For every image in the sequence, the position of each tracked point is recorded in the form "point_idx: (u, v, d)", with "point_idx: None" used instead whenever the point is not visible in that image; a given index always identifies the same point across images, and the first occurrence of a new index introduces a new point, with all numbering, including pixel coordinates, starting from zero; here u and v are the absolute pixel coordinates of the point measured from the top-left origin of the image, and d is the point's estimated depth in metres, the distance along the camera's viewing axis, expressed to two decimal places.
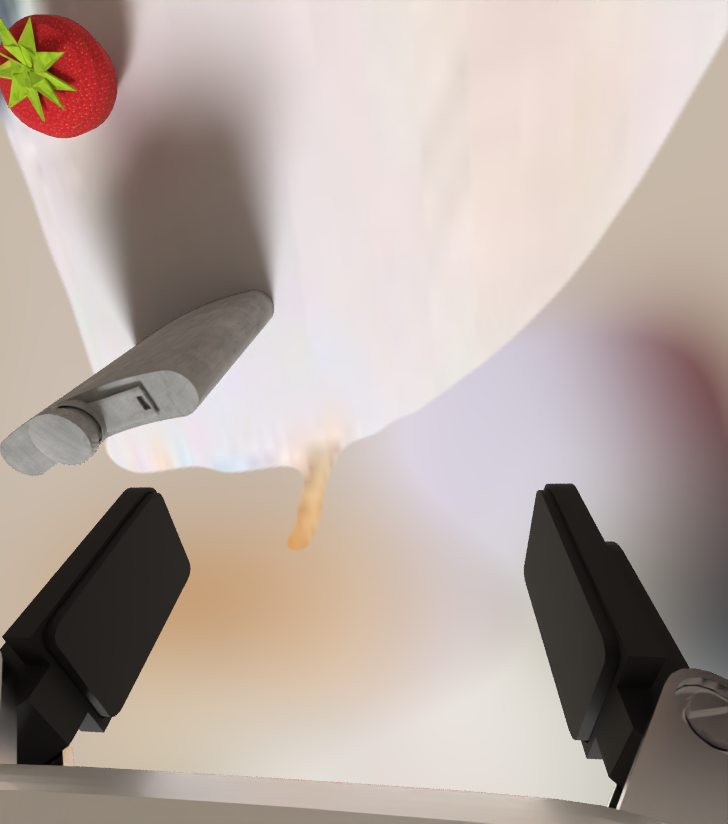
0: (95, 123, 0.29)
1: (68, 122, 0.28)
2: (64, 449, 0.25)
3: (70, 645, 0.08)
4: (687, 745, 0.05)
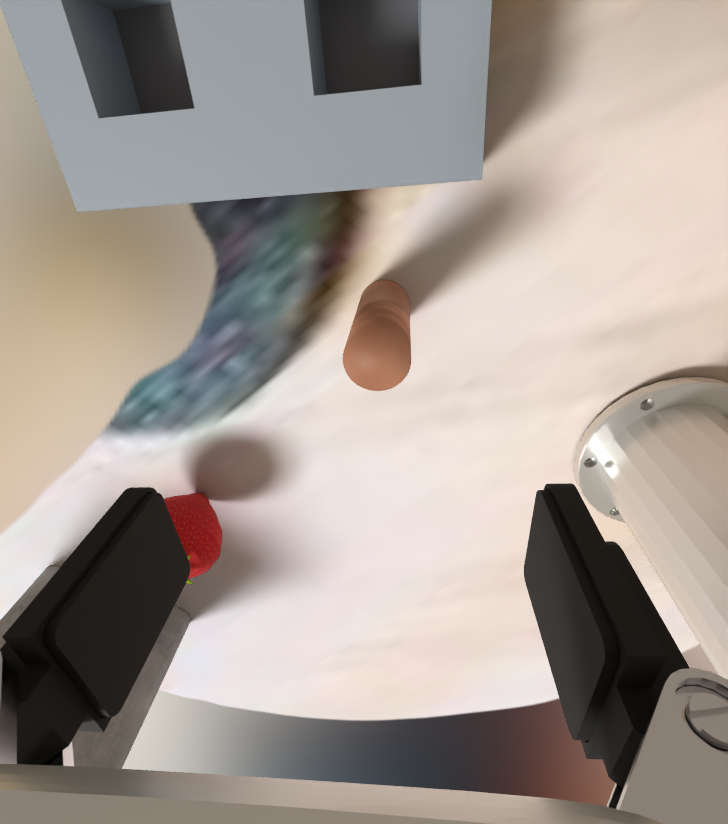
0: None
1: None
2: None
3: (70, 645, 0.08)
4: (687, 745, 0.05)
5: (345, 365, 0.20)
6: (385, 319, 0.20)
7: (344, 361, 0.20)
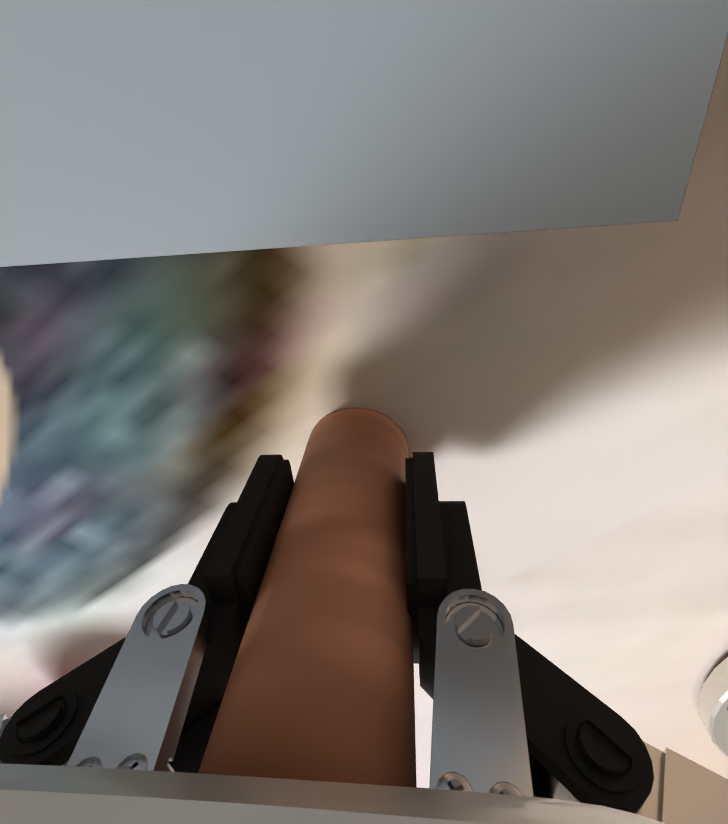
0: None
1: None
2: None
3: (251, 587, 0.08)
4: (462, 657, 0.06)
5: None
6: (332, 681, 0.06)
7: None
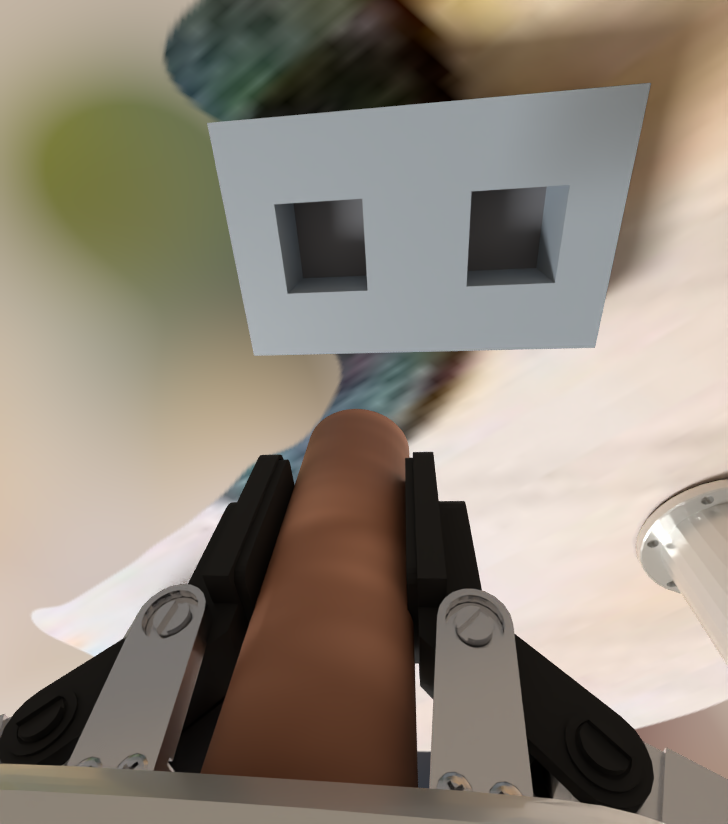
0: None
1: None
2: None
3: (251, 587, 0.08)
4: (462, 657, 0.06)
5: None
6: (333, 685, 0.06)
7: None
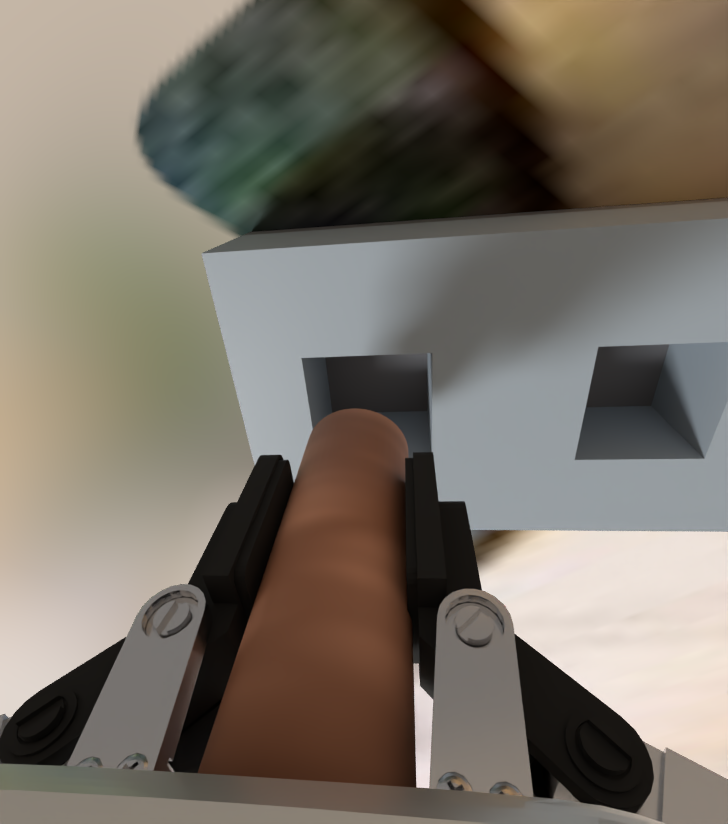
0: None
1: None
2: None
3: (250, 587, 0.08)
4: (462, 657, 0.06)
5: None
6: (331, 685, 0.06)
7: None
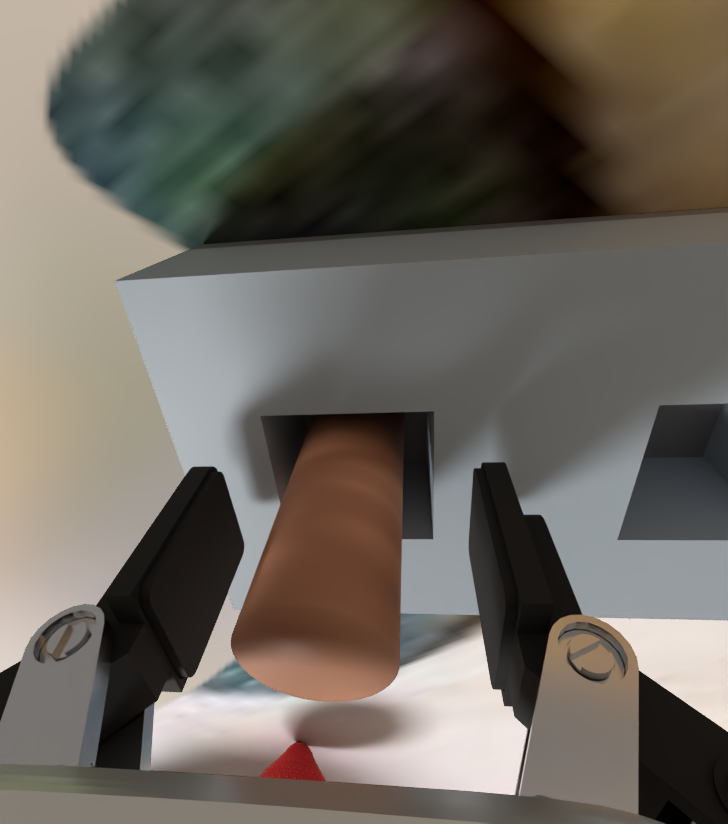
0: None
1: None
2: None
3: (160, 606, 0.08)
4: (572, 685, 0.06)
5: (240, 659, 0.08)
6: (338, 551, 0.08)
7: (236, 653, 0.08)
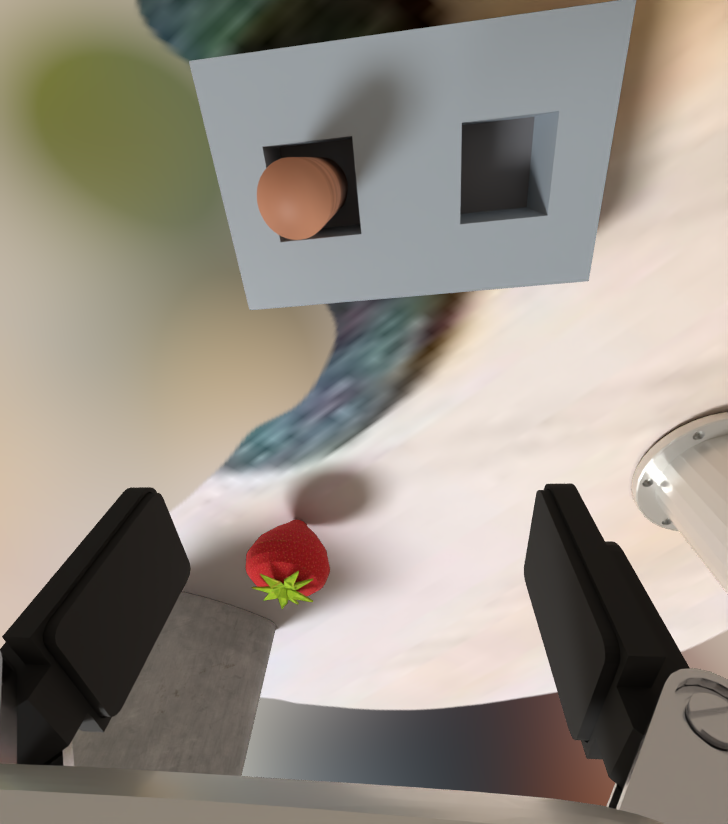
0: None
1: None
2: None
3: (70, 645, 0.08)
4: (687, 745, 0.05)
5: (260, 208, 0.19)
6: (302, 157, 0.19)
7: (259, 203, 0.19)
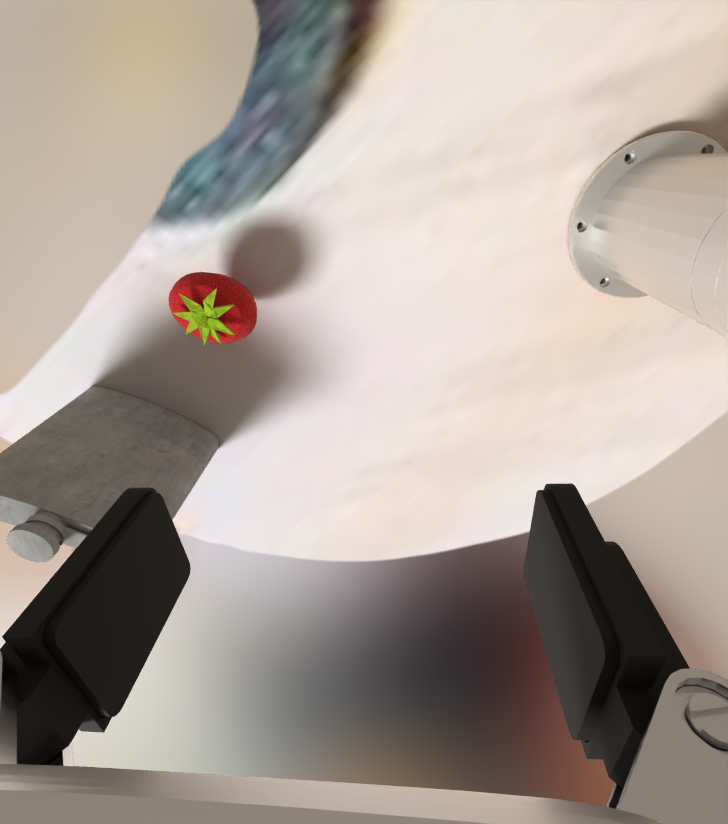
0: None
1: (198, 336, 0.37)
2: (27, 552, 0.33)
3: (70, 645, 0.08)
4: (687, 745, 0.05)
5: None
6: None
7: None
